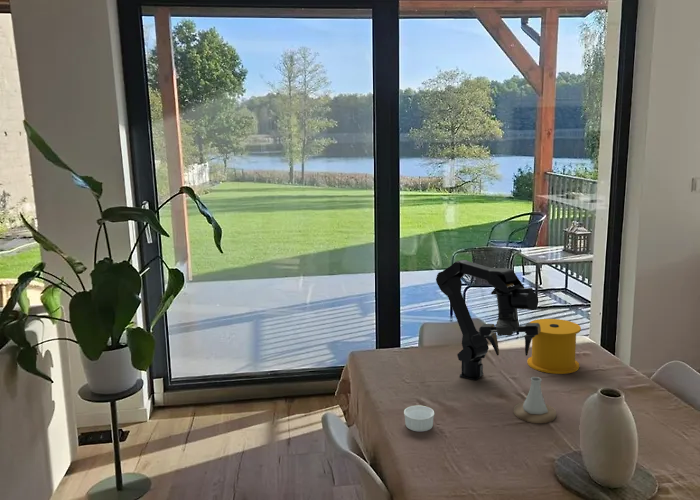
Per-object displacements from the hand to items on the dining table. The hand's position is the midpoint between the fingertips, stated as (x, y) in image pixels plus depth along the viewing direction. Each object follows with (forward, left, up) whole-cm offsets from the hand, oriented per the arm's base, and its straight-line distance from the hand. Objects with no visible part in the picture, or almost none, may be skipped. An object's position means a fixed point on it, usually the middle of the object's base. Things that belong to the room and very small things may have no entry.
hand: (512, 355), depth 188 cm
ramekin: (-14, -37, -13) cm, 41 cm away
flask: (+12, -12, -11) cm, 20 cm away
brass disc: (+12, -12, -12) cm, 21 cm away
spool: (+5, +30, -13) cm, 33 cm away
